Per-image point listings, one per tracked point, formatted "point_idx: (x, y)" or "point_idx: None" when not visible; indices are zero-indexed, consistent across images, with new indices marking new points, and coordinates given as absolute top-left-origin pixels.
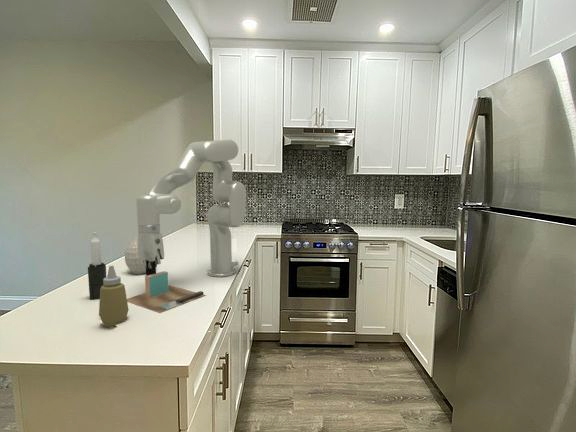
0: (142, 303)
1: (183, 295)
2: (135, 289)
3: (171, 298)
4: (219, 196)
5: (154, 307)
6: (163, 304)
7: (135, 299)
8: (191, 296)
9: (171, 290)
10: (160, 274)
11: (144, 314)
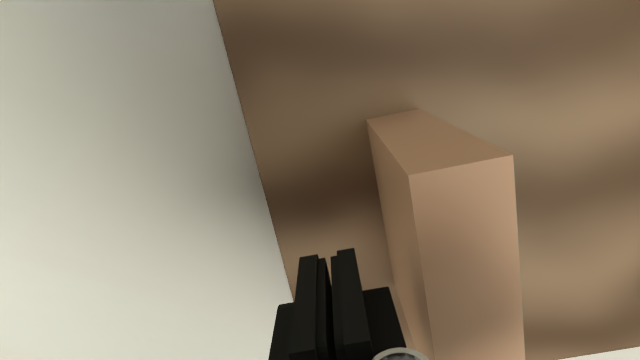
0: None
1: (593, 42)
2: (71, 229)
3: (567, 157)
4: None
5: (620, 316)
6: (626, 255)
7: None
8: None
9: (378, 57)
10: (517, 281)
11: (595, 357)
